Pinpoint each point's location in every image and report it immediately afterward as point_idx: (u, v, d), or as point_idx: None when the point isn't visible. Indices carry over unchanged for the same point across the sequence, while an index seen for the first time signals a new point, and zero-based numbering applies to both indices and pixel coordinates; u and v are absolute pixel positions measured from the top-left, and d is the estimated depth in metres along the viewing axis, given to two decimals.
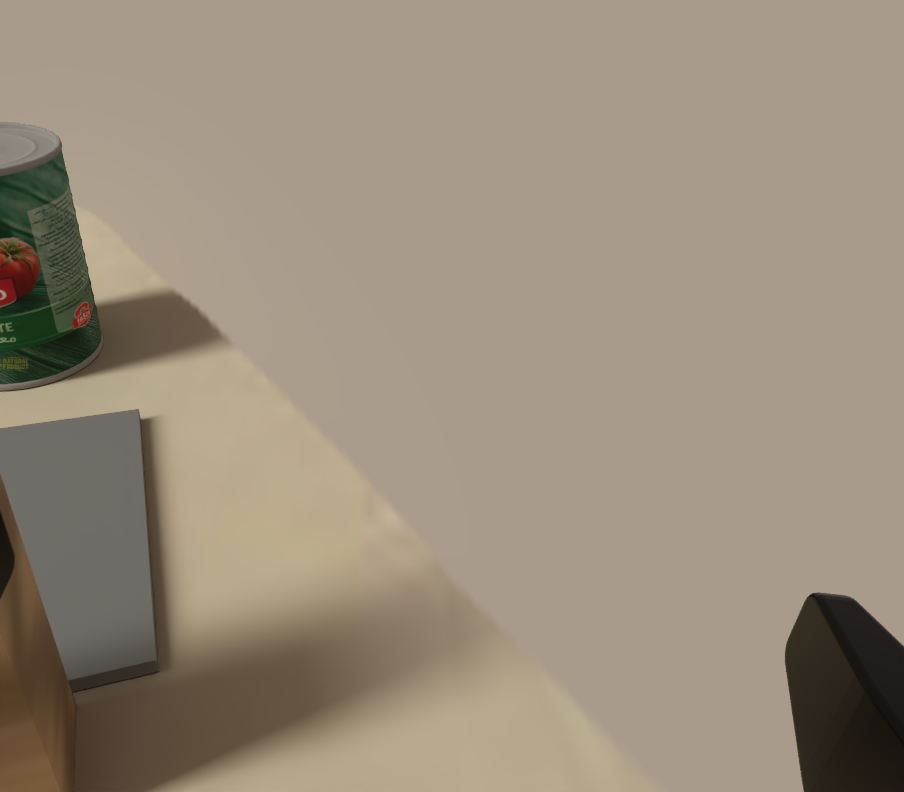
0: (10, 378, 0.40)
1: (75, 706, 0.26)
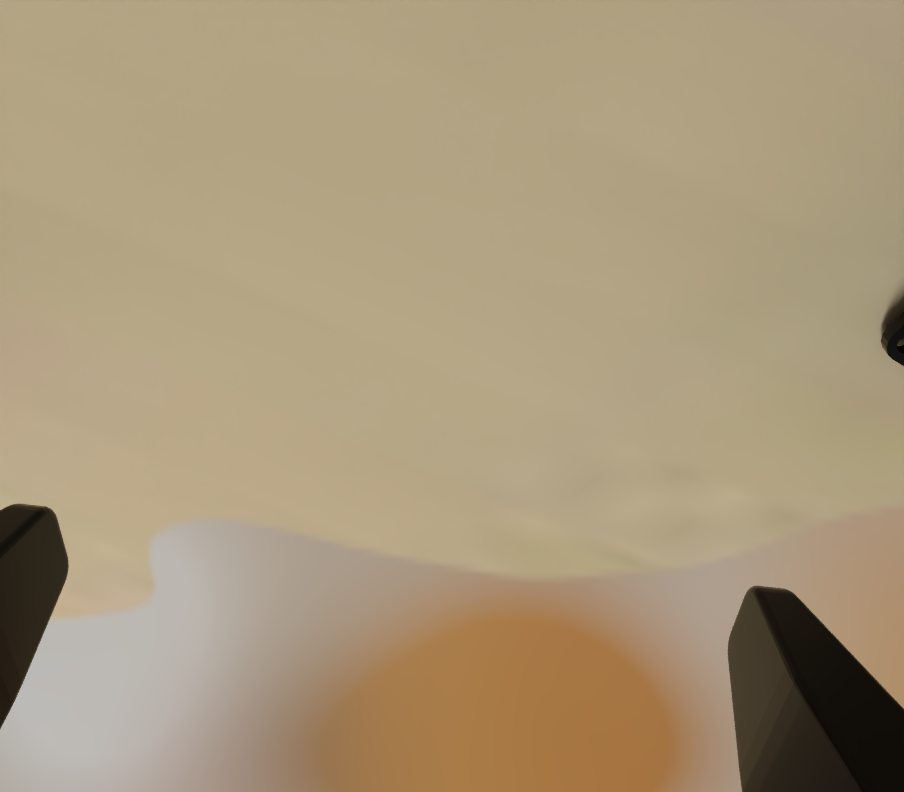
0: None
1: None
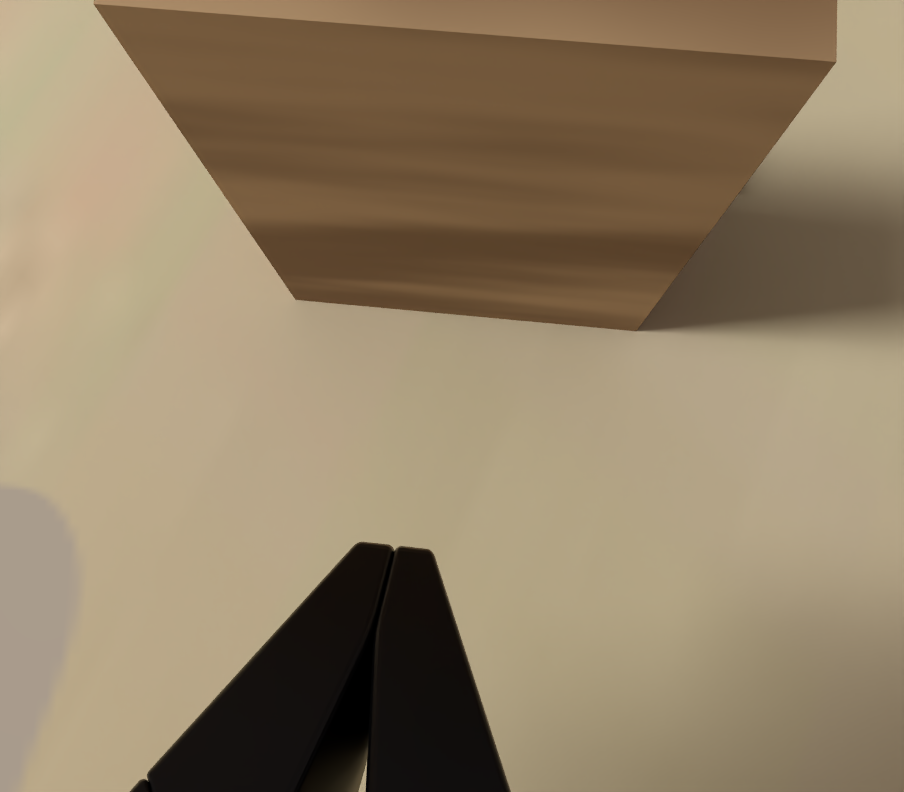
0: None
1: None
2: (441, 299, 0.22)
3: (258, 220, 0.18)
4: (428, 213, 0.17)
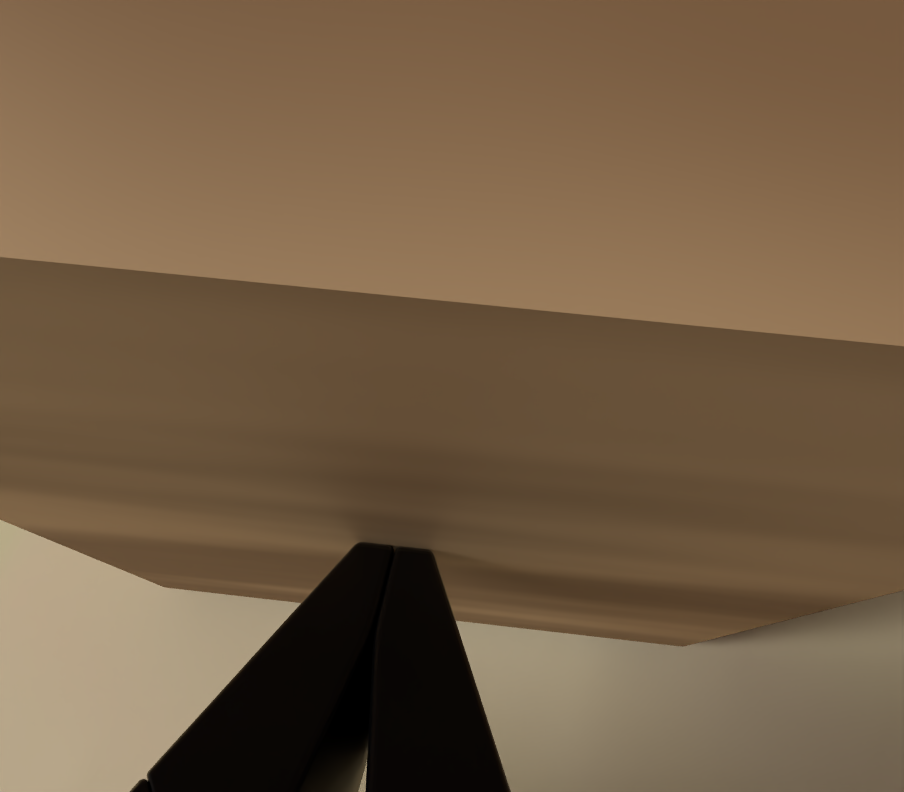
0: None
1: None
2: None
3: (43, 527, 0.10)
4: (334, 543, 0.09)
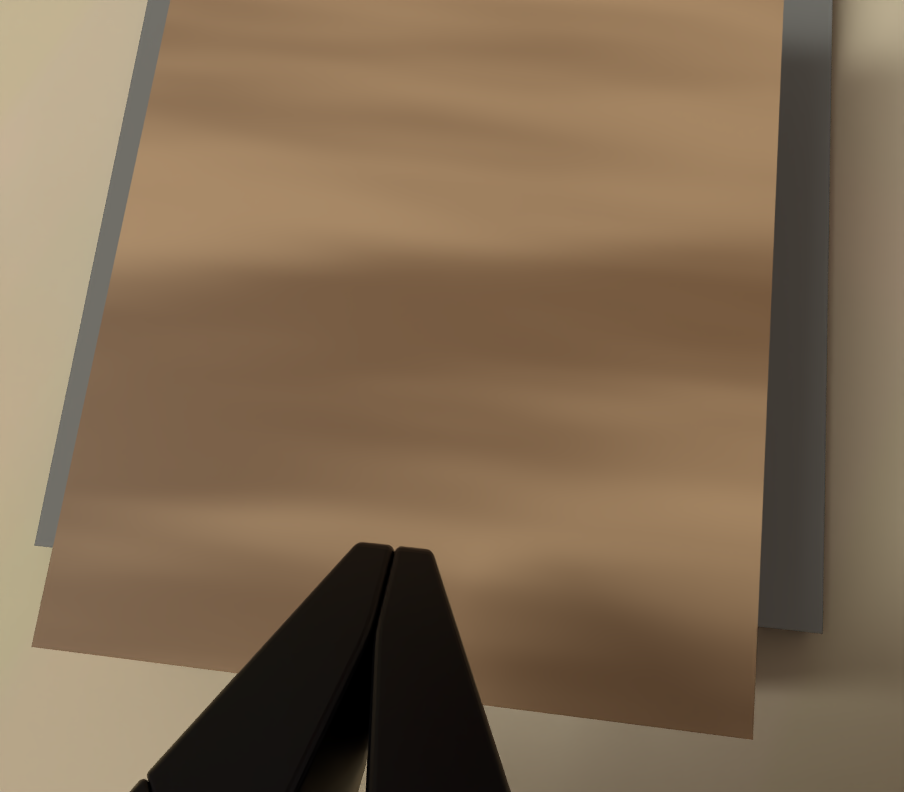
0: None
1: None
2: None
3: (142, 258, 0.12)
4: (402, 213, 0.12)
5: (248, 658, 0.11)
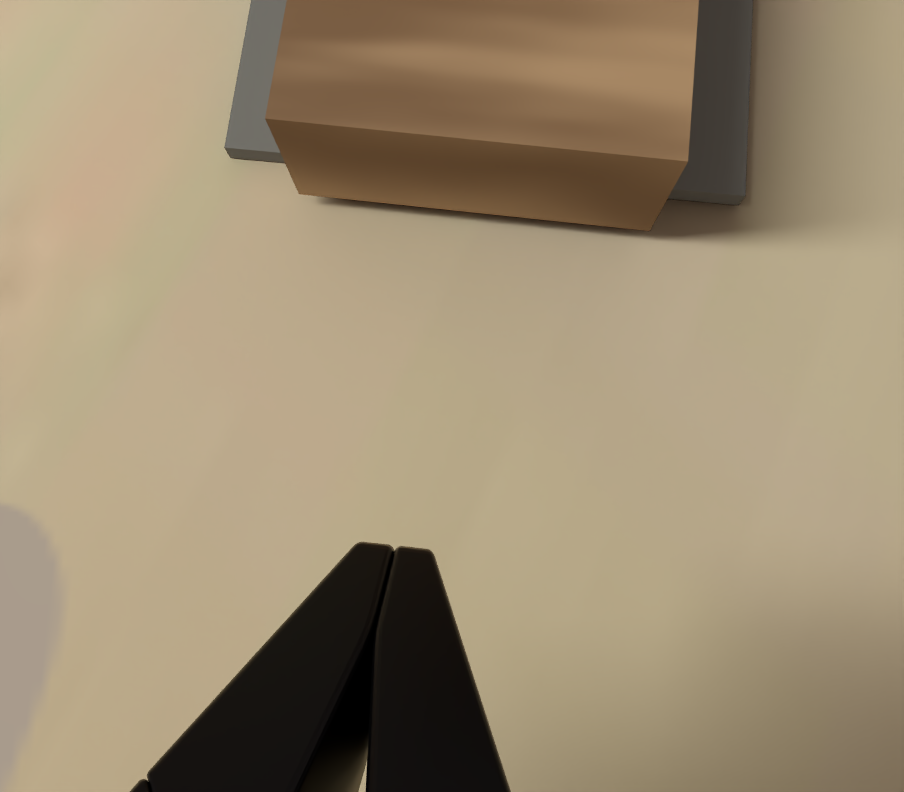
0: None
1: None
2: (454, 87, 0.19)
3: None
4: None
5: (393, 124, 0.19)
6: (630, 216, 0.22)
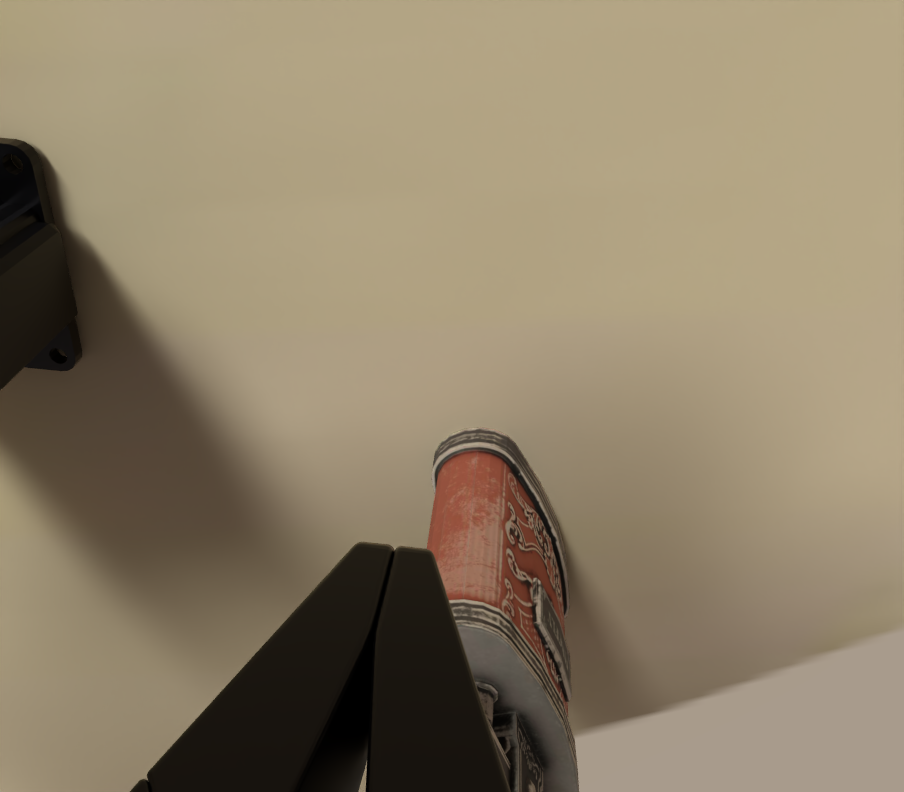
0: None
1: None
2: None
3: None
4: None
5: None
6: None
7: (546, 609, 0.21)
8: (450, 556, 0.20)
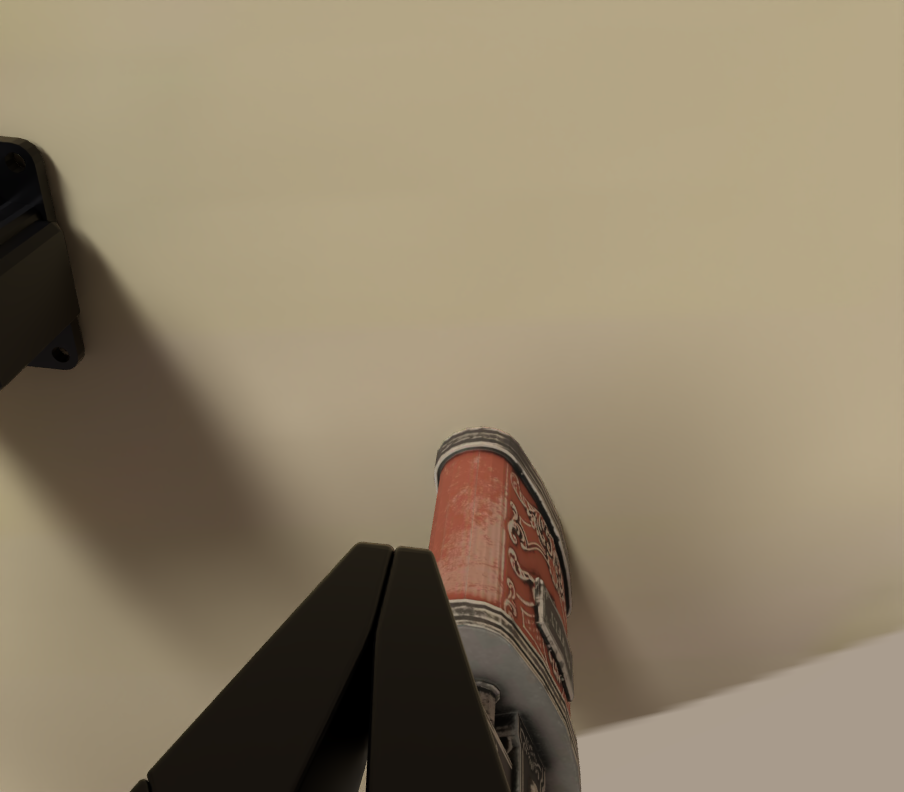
0: None
1: None
2: None
3: None
4: None
5: None
6: None
7: (548, 609, 0.21)
8: (452, 555, 0.20)
